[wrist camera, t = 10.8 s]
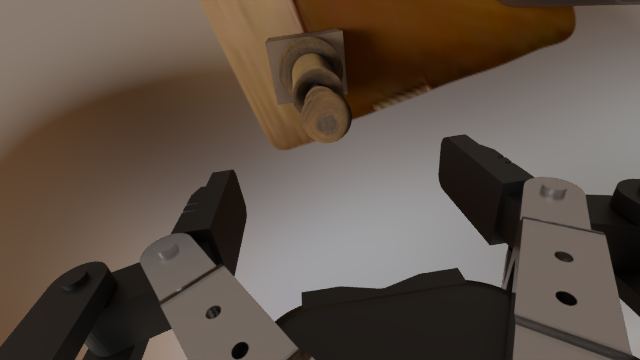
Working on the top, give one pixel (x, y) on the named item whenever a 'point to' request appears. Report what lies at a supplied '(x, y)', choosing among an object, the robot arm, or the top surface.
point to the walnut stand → (280, 43)
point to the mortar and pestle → (316, 87)
